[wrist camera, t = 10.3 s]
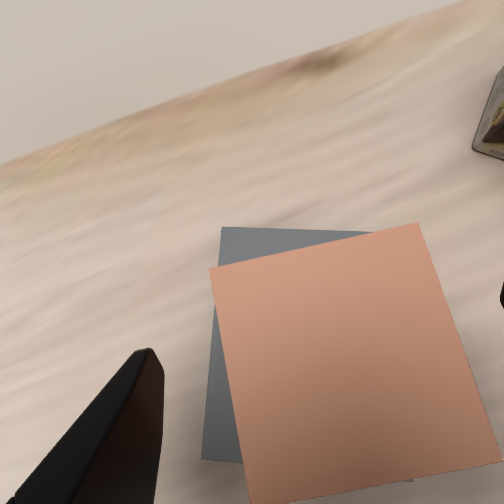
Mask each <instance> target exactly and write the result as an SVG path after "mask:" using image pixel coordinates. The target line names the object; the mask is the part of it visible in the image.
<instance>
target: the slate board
mask: <svg viewBox="0 0 504 504" xmlns="http://www.w3.org/2000/svg"><path fill="white" fill-rule="evenodd" d="M368 233H372V232H359V231H330V230H301V229H272V228H243V227H222V230H221V241H220V253H219V264H218V266H223V265H227V264H232V263H237V262H241V261H246V260H250V259H255V258H259V257H264V256H268V255H273V254H277V253H282V252H286V251H291V250H295V249H300V248H304V247H309V246H313V245H318V244H322V243H327V242H331V241H336V240H341V239H345V238H350V237H354V236H359V235H363V234H368ZM201 459H206V460H216V461H225V462H234V463H243V460H242V454H241V449H240V443H239V437H238V431H237V426H236V420H235V414H234V409H233V403H232V397H231V391H230V386H229V380H228V374H227V369H226V363H225V357H224V352H223V346H222V340H221V334H220V329H219V323H218V317H217V312H216V306H215V309H214V320H213V331H212V342H211V354H210V365H209V376H208V387H207V398H206V410H205V421H204V432H203V443H202V455H201ZM404 481H409V482H413V479H409V480H404Z"/></svg>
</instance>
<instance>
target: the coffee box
mask: <svg viewBox="0 0 504 504" xmlns="http://www.w3.org/2000/svg"><path fill="white" fill-rule="evenodd" d="M473 147H474V149H475V150H477V151H480V152H483V153H486V154H489V155H492V156H495V157H498V158H501V159H504V66H503V68H502V69H501V70H500V71H499V73H498V76H497V79H496V81H495V84H494V87H493V90H492V92H491V95H490V98H489V100H488V103H487V106H486V109H485V112H484V114H483V117H482V120H481V122H480V125H479V128H478V131H477V134H476V137H475V140H474V143H473Z"/></svg>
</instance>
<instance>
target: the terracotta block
mask: <svg viewBox="0 0 504 504" xmlns="http://www.w3.org/2000/svg"><path fill="white" fill-rule="evenodd" d="M209 272H210V277H211V283H212V289H213V294H214V300H215V306H216V312H217V317H218V323H219V329H220V334H221V340H222V346H223V352H224V357H225V363H226V369H227V374H228V380H229V386H230V391H231V397H232V403H233V409H234V414H235V420H236V426H237V431H238V437H239V443H240V449H241V454H242V460H243V466H244V471H245V477H246V483H247V488H248V494H249V500H250V504H284V503H289V502H295V501H300V500H305V499H310V498H315V497H321V496H326V495H331V494H336V493H341V492H347V491H352V490H357V489H362V488H367V487H372V486H378V485H383V484H388V483H393V482H398V481H404V480H409V479H414V478H419V477H424V476H430V475H435V474H440V473H445V472H450V471H456V470H461V469H466V468H471V467H476V466H481V465H487V464H492V463H497V462H502V461H503V460H502V457H501V454H500V451H499V448H498V445H497V443H496V440H495V437H494V434H493V431H492V429H491V426H490V423H489V420H488V417H487V415H486V412H485V409H484V406H483V403H482V401H481V398H480V395H479V392H478V389H477V387H476V384H475V381H474V378H473V375H472V373H471V370H470V367H469V364H468V361H467V358H466V356H465V353H464V350H463V347H462V344H461V342H460V339H459V336H458V333H457V330H456V328H455V325H454V322H453V319H452V316H451V314H450V311H449V308H448V305H447V302H446V300H445V297H444V294H443V291H442V288H441V285H440V283H439V280H438V277H437V274H436V271H435V269H434V266H433V263H432V260H431V257H430V255H429V252H428V249H427V246H426V243H425V241H424V238H423V235H422V232H421V229H420V227H419V224H418V222H417V223H413V224H408V225H404V226H399V227H395V228H390V229H386V230H381V231H377V232H372V233H368V234H363V235H359V236H354V237H350V238H345V239H341V240H336V241H331V242H327V243H322V244H318V245H313V246H309V247H304V248H300V249H295V250H291V251H286V252H282V253H277V254H273V255H268V256H264V257H259V258H255V259H250V260H246V261H241V262H237V263H232V264H227V265H223V266H218V267H214V268H209Z"/></svg>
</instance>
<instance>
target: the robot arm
mask: <svg viewBox="0 0 504 504" xmlns="http://www.w3.org/2000/svg"><path fill="white" fill-rule="evenodd" d="M500 302H501V305H502V307H503V308H504V282H503V286H502V290H501V294H500ZM163 410H164V370H163V367H162V365H161V363H160V362H159V360H158V358H157V356H156V354H155V352H154V351H153V349H151V348H145V349H141V350H137V351H135V352H134V353H133V354H132V355H131V356H130V357H129V358H128V359H127V361H126V362H125V363H124V364H123V365H122V367H121V368H120V369H119V370H118V371H117V372H116V374H115V375H114V376H113V377H112V378H111V380H110V381H109V382H108V383H107V384H106V386H105V387H104V388H103V389H102V390H101V391H100V393H99V394H98V395H97V396H96V397H95V399H94V400H93V401H92V402H91V403H90V405H89V406H88V407H87V408H86V409H85V410H84V412H83V413H82V414H81V415H80V416H79V418H78V419H77V420H76V421H75V422H74V423H73V425H72V426H71V427H70V428H69V429H68V431H67V432H66V433H65V434H64V435H63V437H62V438H61V439H60V440H59V441H58V442H57V444H56V445H55V446H54V447H53V448H52V450H51V451H50V452H49V453H48V454H47V456H46V457H45V458H44V459H43V460H42V461H41V463H40V464H39V465H38V466H37V467H36V469H35V470H34V471H33V472H32V473H31V475H30V476H29V477H28V478H27V479H26V480H25V482H24V483H23V484H22V485H21V486H20V488H19V489H18V490H17V491H16V492H15V496H14V497H11V498H10V499H9V500H8V502H7V503H6V504H154V496H155V489H156V482H157V475H158V467H159V460H160V453H161V445H162V435H163Z"/></svg>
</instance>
